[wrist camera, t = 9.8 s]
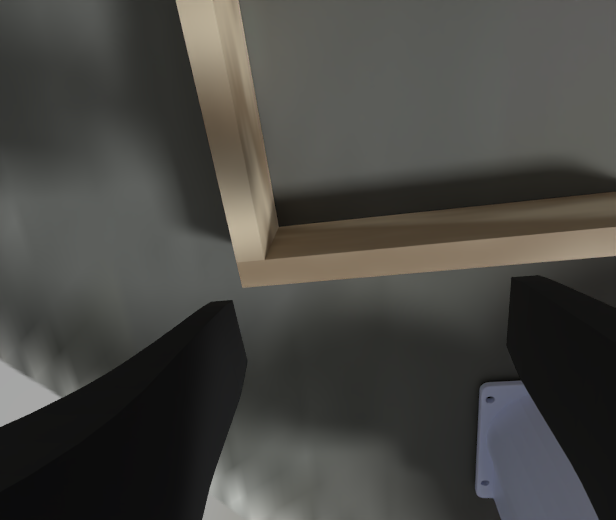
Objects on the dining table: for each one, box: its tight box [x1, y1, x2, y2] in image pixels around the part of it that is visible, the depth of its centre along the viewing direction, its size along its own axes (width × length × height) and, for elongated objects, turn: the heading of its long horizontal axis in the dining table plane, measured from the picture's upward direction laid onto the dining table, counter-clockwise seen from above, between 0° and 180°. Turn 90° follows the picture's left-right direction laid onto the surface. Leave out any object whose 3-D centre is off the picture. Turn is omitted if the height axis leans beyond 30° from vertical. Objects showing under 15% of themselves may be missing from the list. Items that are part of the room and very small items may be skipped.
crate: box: [176, 0, 616, 288], centre depth 15 cm, size 13×18×4 cm
